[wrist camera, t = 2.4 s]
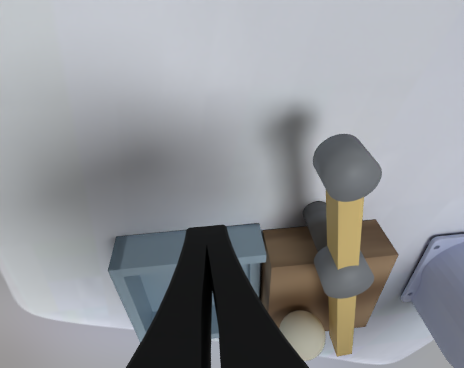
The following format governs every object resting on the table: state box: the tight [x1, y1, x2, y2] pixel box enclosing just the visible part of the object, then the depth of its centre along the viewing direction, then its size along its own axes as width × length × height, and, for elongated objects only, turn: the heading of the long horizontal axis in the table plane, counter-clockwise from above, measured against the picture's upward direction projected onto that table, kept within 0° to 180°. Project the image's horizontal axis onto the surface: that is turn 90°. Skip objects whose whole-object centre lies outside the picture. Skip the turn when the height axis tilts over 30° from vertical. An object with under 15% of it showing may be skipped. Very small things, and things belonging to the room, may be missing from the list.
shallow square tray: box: [108, 223, 266, 343], centre depth 26 cm, size 11×11×3 cm
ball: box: [279, 310, 325, 361], centre depth 24 cm, size 4×4×4 cm
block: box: [260, 201, 398, 331], centre depth 25 cm, size 12×9×4 cm
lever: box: [313, 134, 382, 356], centre depth 20 cm, size 20×3×2 cm, turn 12°
